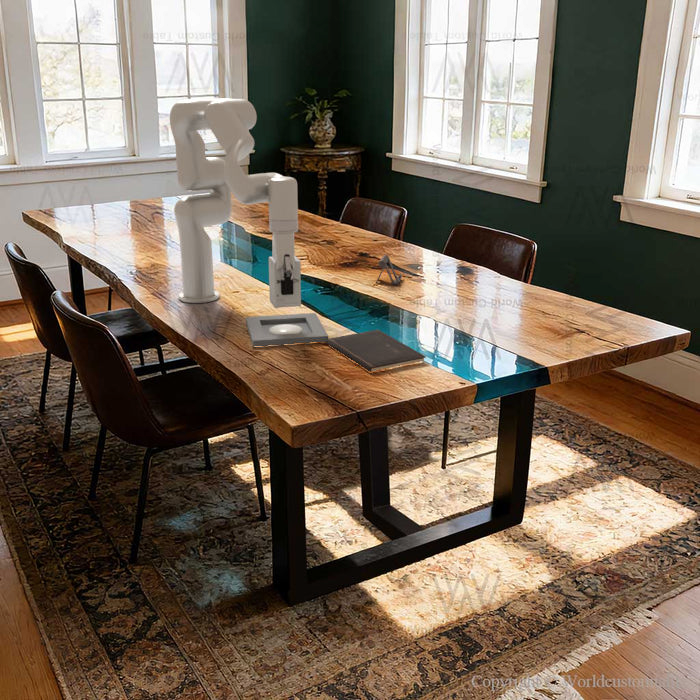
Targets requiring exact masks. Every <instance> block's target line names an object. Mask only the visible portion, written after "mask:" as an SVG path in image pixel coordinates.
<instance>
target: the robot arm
mask: <svg viewBox="0 0 700 700" xmlns="http://www.w3.org/2000/svg"><path fill="white" fill-rule="evenodd" d="M257 116H258V115H257V111H256V109H255V107H254V105H253V104H252V103H251V102H250V101H249V100H247V99H244V98H223V97H222V98H220V97H219V98H191V99H184V100H183V99H182V100H179V101H177V102H175V103H174V104H173V106H172V107H171V110H170V113H169V126H170V131H171V132H172V135H173V139H174V140H173V141H174V145H175V160H176V174H177V182H178V185H179V188H180V189H181V190H182V191H184V192H202V191H203V192H204V191H209V193H207V194H206V193H205V194H196V195H187V196H185V197H182V198H180V199H179V200H177V202H176V203H175V205H174V210H173V211H174V218H175V222H176V225H177V229H178V237H179V246H180V247H179V248H180V261H181V262H180V264H181V277H182V278H181V279H182V291H181V292H180V293H178V300H180V301H181V302H183V303H190V304H203V303H210V302H213V301H216V300H218V299H219V298H220V292H219V291H218V290H215V279H214V278H215V277H214V265H213V264H214V260H213V245H212V240H211V239H212V238H211V237H210V235H209V234H208V233H207V232H206V231H205V228H206V227H211V226H218V225H223V224H226V223H227V222H229V220H230V219H231V216H232V195H233V196H234V197H235V199H236V200H237V201H239V203H240V204H243V205H249V206H250V205H256V204H261V203H268V224H269V225H268V227H269V228H268V230H269V232H270V233H272V239H271V240H272V242H271V243H272V247H271V248H272V251H271V252H272V256H271V257H273V258H274V260H275V262H276V270H277V271H279V269H281V271H282V280H281V294H282V295H292V294H293V275H292V270H293V269H294V266H295V256H296V255H295V253H296V252H295V233H297V232H299V214H298V213H299V205H298V204H299V203H298V202H299V201H298V195H299V194H298V182H297V179H296V178H295V177H291V176H284V175H282V174H280V173H277V172H265V173H264V172H261V173H254V174H245V173H244V171H243V169H242V168H241V166H240V163H239V162H240V161H241V160H244V159H245V158H246V157H247V156H249V155H250V153H251V152H252V151H253V149H254V147H255V139H254V137H253V136H252V135H251V133H250V131H249V130H252V129H254V128H253V127H255V125H256V123H257V118H258V117H257ZM204 130H205V131H206V130H207V131H209V130H211V132H212V134H213V135H214V137H215V138H216V140H217V141H218V143H219V146H221V149H222V150H223V151H224V153H225V157H224V159H223V158H221V157H219V156H208V157H207V156H206V145H205V141H204V139H203V136H202V135H201V134H200V133H199V131H204ZM284 260H285V261H284ZM284 262H285V267H286V268H283V267H282V266H283V264H284ZM290 263H291V264H290ZM292 265H293V267H292ZM284 271H286V272H285V273H284Z"/></svg>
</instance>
